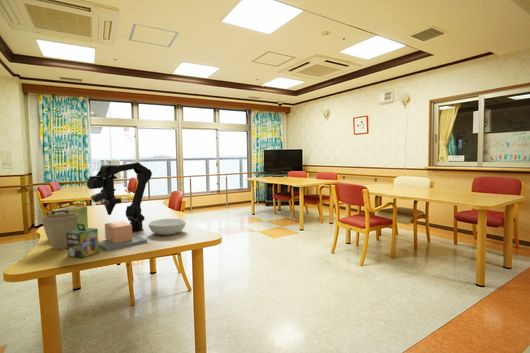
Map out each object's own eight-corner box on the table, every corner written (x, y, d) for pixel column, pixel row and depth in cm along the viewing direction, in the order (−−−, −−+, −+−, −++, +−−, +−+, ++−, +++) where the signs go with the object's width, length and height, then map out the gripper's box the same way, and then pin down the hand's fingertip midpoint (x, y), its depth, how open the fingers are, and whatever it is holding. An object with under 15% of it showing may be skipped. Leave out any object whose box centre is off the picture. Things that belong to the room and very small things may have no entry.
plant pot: (86, 243, 149) (85, 213, 148) (60, 252, 135) (59, 219, 134) (62, 241, 152) (61, 212, 151) (35, 250, 138) (33, 218, 137)
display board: (134, 236, 162) (134, 234, 162) (147, 242, 152) (147, 239, 152) (95, 244, 148) (95, 241, 148) (106, 251, 137) (106, 248, 137)
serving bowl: (171, 239, 158) (171, 227, 157) (140, 236, 164) (140, 224, 164) (192, 230, 177) (192, 219, 177) (164, 228, 184) (164, 217, 184)
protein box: (88, 231, 176) (87, 206, 175) (69, 237, 160) (68, 210, 160) (72, 230, 177) (71, 205, 176) (52, 237, 161) (50, 210, 160)
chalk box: (99, 252, 135) (98, 221, 134) (81, 258, 127) (80, 226, 126) (85, 250, 138) (84, 220, 137) (66, 256, 130) (65, 224, 129)
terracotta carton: (122, 221, 160) (131, 224, 151) (122, 235, 160) (132, 239, 151) (104, 223, 153) (113, 227, 144) (105, 238, 154) (114, 243, 145)
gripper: (86, 187, 159) (87, 215, 160) (98, 189, 147) (100, 219, 148) (107, 186, 168) (108, 212, 169) (121, 188, 156) (122, 216, 157)
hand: (109, 214), depth 161 cm, fingers closed
